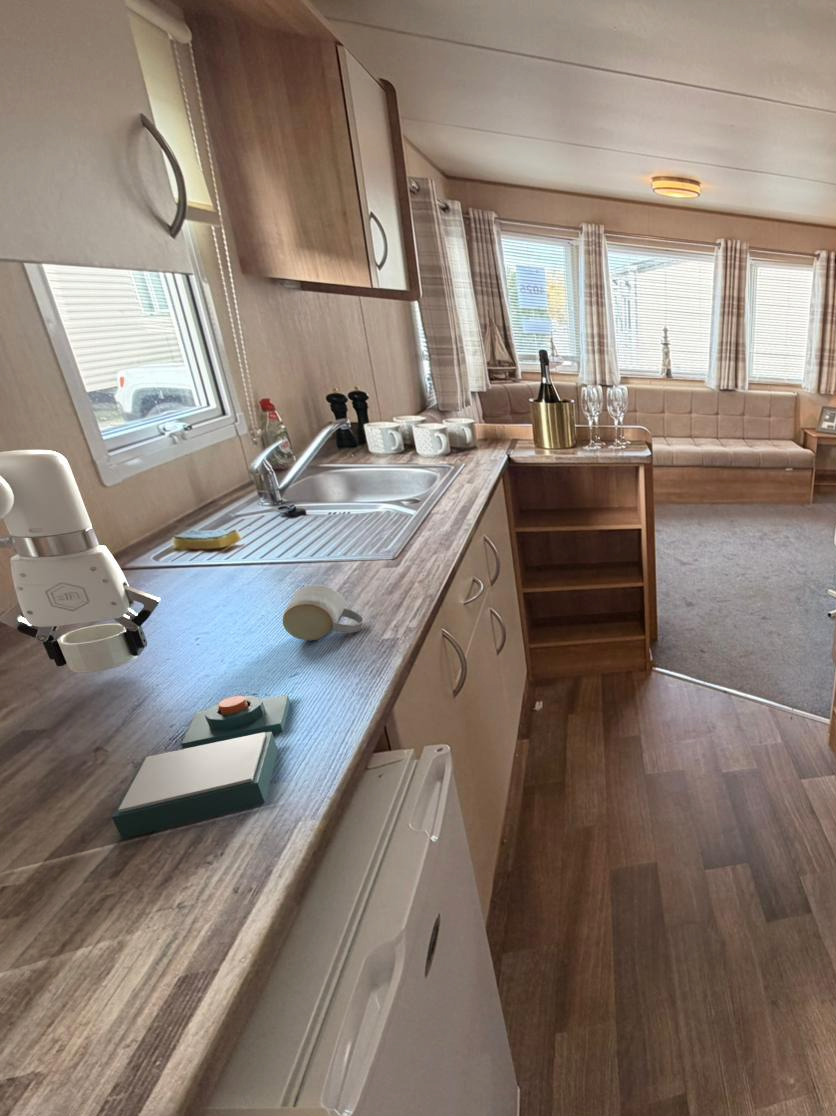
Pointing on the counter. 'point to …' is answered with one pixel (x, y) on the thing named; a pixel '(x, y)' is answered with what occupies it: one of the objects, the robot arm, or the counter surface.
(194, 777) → the scale
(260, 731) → the pad
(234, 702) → the button
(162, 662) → the counter surface
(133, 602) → the robot arm
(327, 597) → the ceramic mug
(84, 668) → the bowl
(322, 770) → the counter surface
